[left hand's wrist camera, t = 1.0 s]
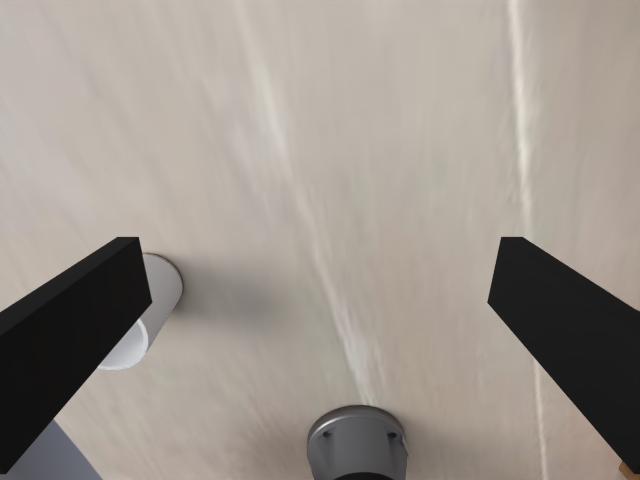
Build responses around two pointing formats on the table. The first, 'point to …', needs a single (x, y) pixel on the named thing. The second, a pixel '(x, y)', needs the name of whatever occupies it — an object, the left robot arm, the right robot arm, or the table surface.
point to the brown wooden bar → (628, 472)
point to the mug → (148, 314)
